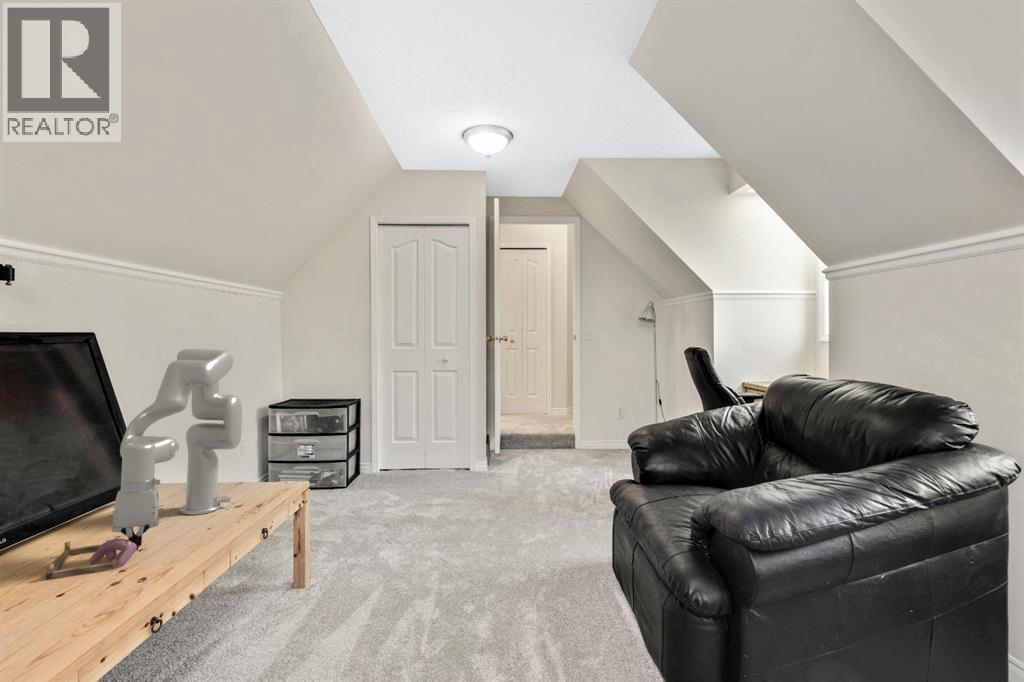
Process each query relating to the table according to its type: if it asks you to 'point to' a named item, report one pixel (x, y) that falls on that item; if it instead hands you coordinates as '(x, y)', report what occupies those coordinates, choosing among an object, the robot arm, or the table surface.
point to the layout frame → (56, 573)
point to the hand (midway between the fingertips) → (134, 549)
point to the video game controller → (110, 551)
